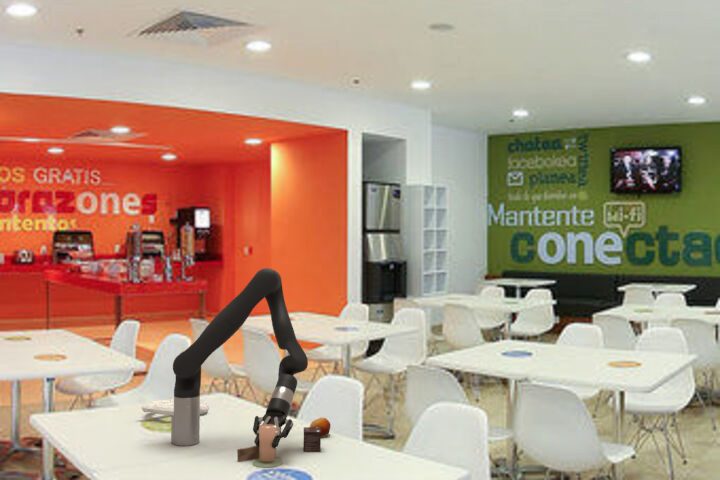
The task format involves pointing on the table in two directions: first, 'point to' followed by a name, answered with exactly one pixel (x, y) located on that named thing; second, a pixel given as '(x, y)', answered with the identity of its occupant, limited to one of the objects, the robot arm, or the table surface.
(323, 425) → the fruit
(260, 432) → the peach dome-topped cylinder
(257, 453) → the rail
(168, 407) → the pretzel
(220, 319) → the robot arm
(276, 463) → the coaster
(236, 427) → the table surface
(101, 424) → the table surface
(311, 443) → the box
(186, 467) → the table surface
